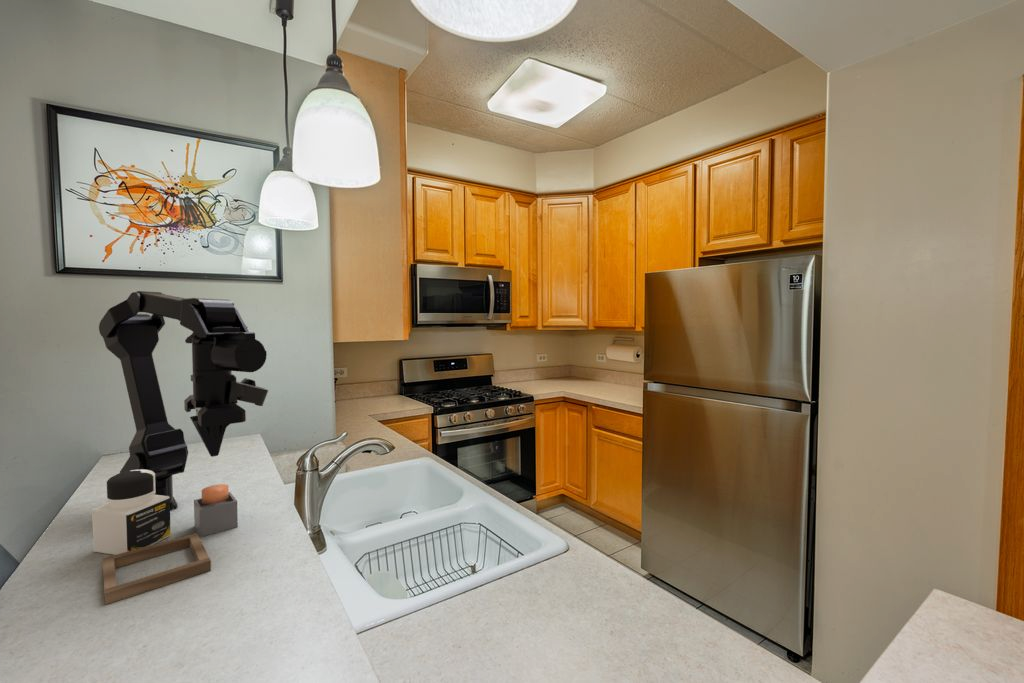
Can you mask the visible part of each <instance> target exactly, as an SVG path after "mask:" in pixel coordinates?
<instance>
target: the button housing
mask: <svg viewBox="0 0 1024 683" xmlns="http://www.w3.org/2000/svg"><path fill="white" fill-rule="evenodd" d="M193 510H194V511H193V516H194V517H193V518H194V519H193V520H194V521H193V522H194V528H195V529H196V533H197V534H198V536H199V538H202V537H206V536H210V535H214V534H217V533H220V532H224V531H228V530H232V529H235V528H237V527H238V523H239V522H238V521H239V520H238V499H236V497H235V495H233V494H232V493H231V491H229V498H228V499H226V500H225V501H222V502H219V503H214V504H204V503H202V497H200V498H197V499H196V498H195V499H194V500H193Z"/></svg>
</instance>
